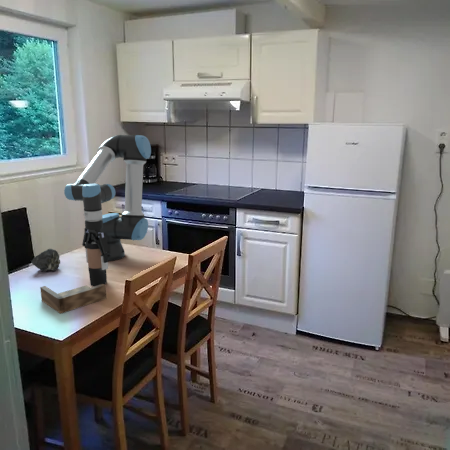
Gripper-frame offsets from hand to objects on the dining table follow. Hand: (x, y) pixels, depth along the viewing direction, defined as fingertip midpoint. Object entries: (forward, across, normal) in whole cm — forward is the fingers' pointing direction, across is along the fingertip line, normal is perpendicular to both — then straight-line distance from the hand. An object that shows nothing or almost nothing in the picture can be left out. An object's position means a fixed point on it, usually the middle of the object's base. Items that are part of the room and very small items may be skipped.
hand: (97, 265), depth 196 cm
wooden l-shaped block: (+9, +8, -16) cm, 20 cm away
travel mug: (+9, 0, 0) cm, 9 cm away
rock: (+9, -33, -9) cm, 35 cm away
